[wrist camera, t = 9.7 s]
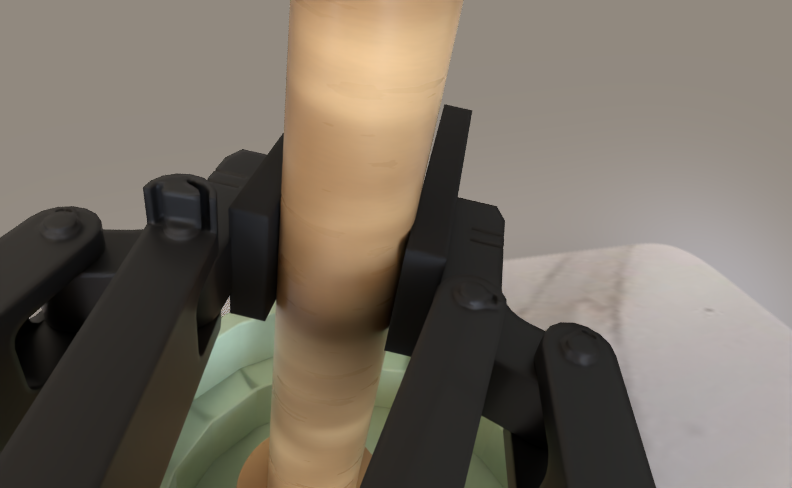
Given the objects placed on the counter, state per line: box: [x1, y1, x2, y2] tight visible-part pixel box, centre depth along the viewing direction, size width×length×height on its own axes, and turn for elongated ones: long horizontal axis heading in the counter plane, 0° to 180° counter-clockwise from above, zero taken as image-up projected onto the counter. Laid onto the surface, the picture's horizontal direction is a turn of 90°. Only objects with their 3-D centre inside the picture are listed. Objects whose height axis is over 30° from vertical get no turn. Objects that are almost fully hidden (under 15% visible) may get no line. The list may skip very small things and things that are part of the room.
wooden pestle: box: [236, 0, 463, 488], centre depth 12 cm, size 4×4×20 cm
